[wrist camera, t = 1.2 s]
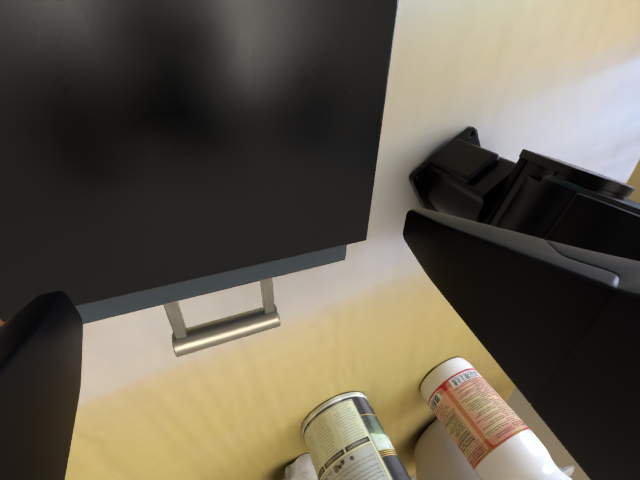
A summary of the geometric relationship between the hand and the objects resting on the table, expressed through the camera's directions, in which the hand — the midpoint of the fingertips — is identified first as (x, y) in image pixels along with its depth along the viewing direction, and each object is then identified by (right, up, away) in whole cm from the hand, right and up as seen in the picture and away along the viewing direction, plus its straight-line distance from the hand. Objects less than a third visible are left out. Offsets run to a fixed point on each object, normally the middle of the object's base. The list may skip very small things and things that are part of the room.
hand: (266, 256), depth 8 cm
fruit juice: (+22, -22, +43) cm, 53 cm away
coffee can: (+3, -24, +36) cm, 43 cm away
